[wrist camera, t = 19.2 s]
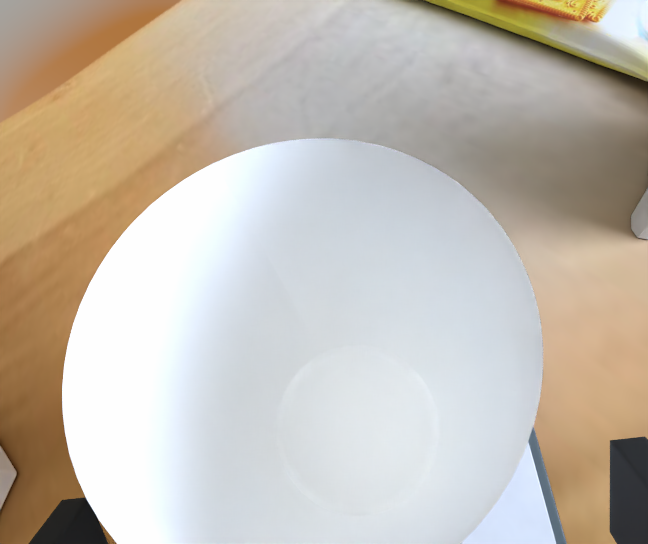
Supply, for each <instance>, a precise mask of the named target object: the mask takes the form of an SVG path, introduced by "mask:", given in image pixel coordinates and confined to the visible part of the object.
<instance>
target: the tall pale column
mask: <svg viewBox="0 0 648 544" xmlns="http://www.w3.org/2000/svg"><path fill="white" fill-rule="evenodd" d="M631 230H632V231H633V232H634V234H635V235H636V236H637V238H642V239H647V240H648V188H647V190H646V191H645V193H644V195H643V197H642V198H641V200H640V202H639V203H638V205H637V207H636V208H635V210H634V212H633V213H632V215H631Z"/></svg>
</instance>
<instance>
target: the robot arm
mask: <svg viewBox="0 0 648 544" xmlns="http://www.w3.org/2000/svg"><path fill="white" fill-rule="evenodd" d="M610 533H611V535H612V536H613V538H614V539H615V541H616V542H617V544H648V440H647V438H646V437H638V438H629V439H619V440H610ZM29 544H108V542H107V540H106V537H105V535H104V533H103V530H102V528H101V525H100V523H99V521H98V518H97V516H96V514H95V512H94V511H93V509H92V507H91V506H90V504H89V502H88V501H87V499H86V498H76V499H67V500H62V501H61V502H60V503H59V505H58V506H57V507H56V509H55V510H54V511H53V513H52V514H51V515H50V517H49V518H48V519H47V520H46V522H45V523H44V524H43V526H42V527H41V528H40V530H39V531H38V532H37V534H36V535H35V536H34V537H33V539H32V540H31V541H30V543H29Z"/></svg>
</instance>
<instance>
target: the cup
mask: <svg viewBox="0 0 648 544" xmlns="http://www.w3.org/2000/svg"><path fill="white" fill-rule="evenodd" d="M542 376H543V339H542V330H541V321H540V316H539V311H538V307H537V302H536V298H535V294H534V291H533V288H532V285H531V282H530V279H529V276H528V274H527V272H526V269H525V267H524V265H523V263H522V261H521V258H520V256H519V254H518V252H517V251H516V249H515V247H514V246H513V244H512V242H511V240H510V239H509V237H508V235H507V234H506V233H505V231H504V230H503V229H502V227H501V226H500V224H499V223H498V222H497V220H496V219H495V218H494V217H493V215H492V214H491V213H490V212H489V211H488V210H487V209H486V208H485V207H484V205H483V204H482V203H481V202H480V201H479V200H478V199H476V198H475V197H474V196H473V195H472V194H471V193H470V192H469V191H468V190H467V189H465V188H464V187H463V186H461V185H460V184H459V183H457V182H456V181H455V180H453V179H452V178H451V177H449V176H448V175H446V174H445V173H443V172H441V171H440V170H438V169H436V168H435V167H433V166H431V165H429V164H427V163H425V162H423V161H421V160H419V159H417V158H415V157H413V156H410V155H407V154H405V153H402V152H400V151H397V150H394V149H390V148H387V147H383V146H380V145H376V144H371V143H366V142H361V141H353V140H345V139H327V138H318V139H300V140H291V141H284V142H278V143H273V144H268V145H264V146H260V147H256V148H253V149H249V150H246V151H243V152H240V153H238V154H235V155H232V156H229V157H227V158H225V159H222V160H220V161H218V162H215V163H213V164H211V165H209V166H207V167H206V168H204V169H202V170H200V171H198V172H196V173H194V174H193V175H191V176H190V177H188V178H186V179H185V180H183V181H181V182H180V183H178V184H177V185H176V186H174V187H173V188H172V189H170V190H169V191H167V192H166V193H165V194H163V195H162V196H161V197H160V198H159V199H157V200H156V201H155V202H154V203H153V204H151V205H150V206H149V207H148V208H147V209H146V210H145V211H144V212H143V213H142V214H141V215H140V216H139V217H138V218H137V219H136V220H135V221H134V222H133V223H132V224H131V225H130V226H129V227H128V229H127V230H126V231H125V232H124V233H123V234H122V235H121V237H120V238H119V239H118V241H117V242H116V243H115V244H114V246H113V247H112V248H111V250H110V251H109V253H108V254H107V256H106V257H105V259H104V260H103V262H102V263H101V265H100V266H99V268H98V270H97V272H96V273H95V275H94V277H93V279H92V281H91V282H90V284H89V286H88V289H87V291H86V293H85V295H84V297H83V300H82V302H81V304H80V307H79V310H78V312H77V315H76V318H75V321H74V324H73V327H72V331H71V335H70V339H69V342H68V347H67V353H66V358H65V364H64V374H63V386H62V400H63V418H64V428H65V435H66V440H67V444H68V449H69V454H70V457H71V460H72V463H73V467H74V470H75V473H76V476H77V479H78V481H79V483H80V485H81V487H82V490H83V492H84V494H85V496H86V499H87V501H88V502H89V504H90V506H91V507H92V509H93V511H94V512H95V514H96V516H97V517H98V519H99V521H100V522H101V523H102V525H103V526H104V527H105V529H106V530H107V531H108V532H109V534H110V535H111V536H112V538H113V539H114V540H115V541H116V542H117V543H118V544H461V543H462V542H463V541H464V540H465V539H466V537H467V536H468V535H469V534H470V533H471V532H472V531H473V530H474V529H475V528H476V527H477V526H478V525H479V524H480V523H481V521H482V520H483V519H484V518H485V516H486V515H487V514H488V513H489V511H490V510H491V509H492V508H493V506H494V505H495V504H496V502H497V501H498V499H499V498H500V496H501V494H502V493H503V491H504V490H505V488H506V486H507V485H508V483H509V482H510V480H511V478H512V477H513V475H514V472H515V470H516V468H517V466H518V464H519V462H520V460H521V458H522V456H523V454H524V452H525V449H526V446H527V443H528V440H529V437H530V434H531V432H532V429H533V426H534V422H535V418H536V413H537V409H538V404H539V400H540V394H541V385H542Z"/></svg>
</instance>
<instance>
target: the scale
mask: <svg viewBox="0 0 648 544" xmlns="http://www.w3.org/2000/svg"><path fill="white" fill-rule="evenodd" d="M461 544H567V543H566V539H565V536H564V532H563V529H562V525H561V522H560V518H559V515H558V511H557V508H556V504H555V500H554V497H553V493H552V490H551V486H550V483H549V479H548V476H547V472H546V469H545V465H544V462H543V458H542V455H541V451H540V447H539V444H538V440H537V437H536V433H535V430H534V426H533V429H532V432H531V434H530V437H529V440H528V443H527V446H526V449H525V452H524V454H523V456H522V458H521V460H520V462H519V464H518V466H517V468H516V470H515V472H514V475H513V477H512V478H511V480H510V482H509V483H508V485H507V486H506V488H505V490H504V491H503V493H502V494H501V496H500V498H499V499H498V501H497V502H496V504H495V505H494V506H493V508H492V509H491V510H490V511H489V513H488V514H487V515H486V516H485V518H484V519H483V520H482V521H481V523H480V524H479V525H478V526H477V527H476V528H475V529H474V530H473V531H472V532H471V533H470V534H469V535H468V536H467V537H466V539H465V540H464V541H463V542H462V543H461Z"/></svg>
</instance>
